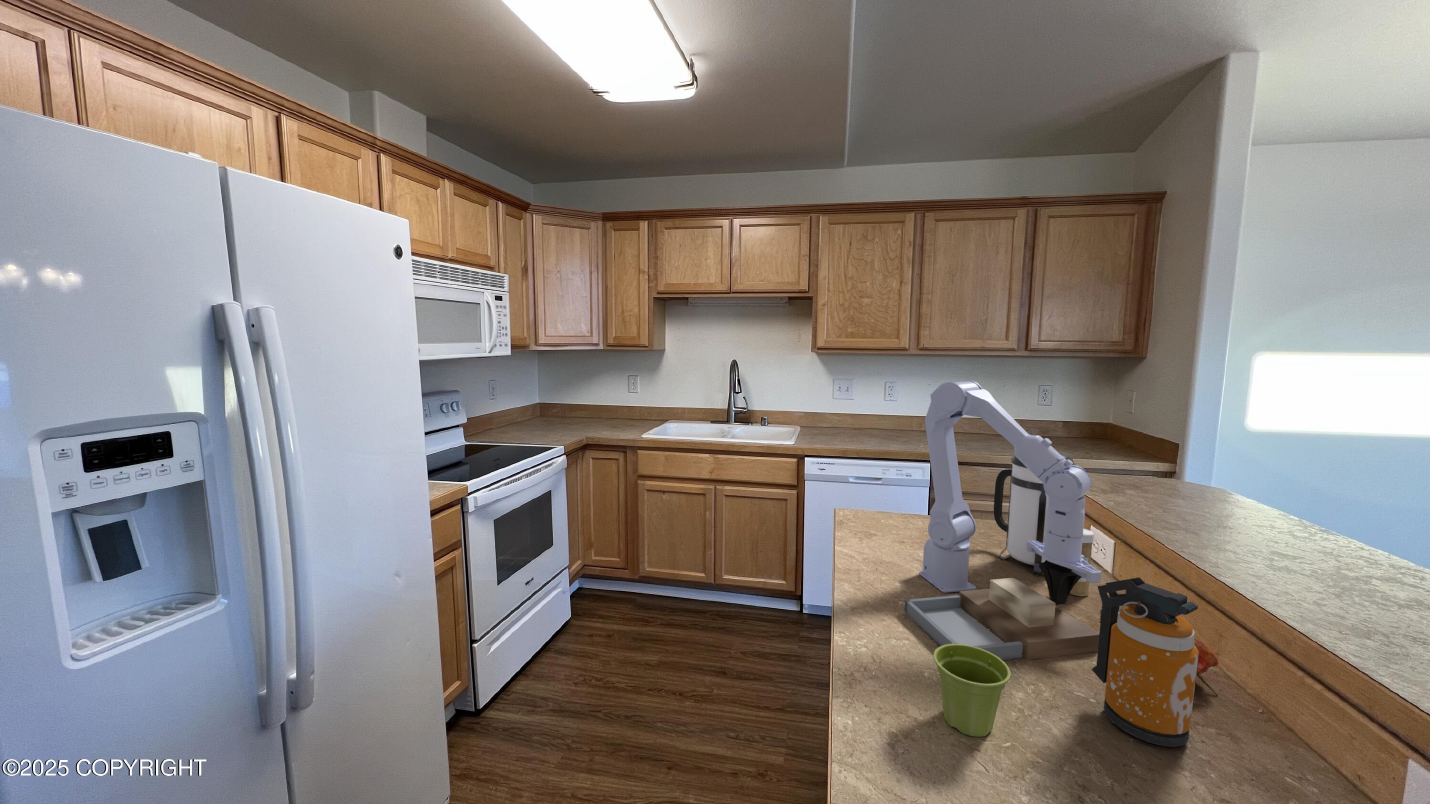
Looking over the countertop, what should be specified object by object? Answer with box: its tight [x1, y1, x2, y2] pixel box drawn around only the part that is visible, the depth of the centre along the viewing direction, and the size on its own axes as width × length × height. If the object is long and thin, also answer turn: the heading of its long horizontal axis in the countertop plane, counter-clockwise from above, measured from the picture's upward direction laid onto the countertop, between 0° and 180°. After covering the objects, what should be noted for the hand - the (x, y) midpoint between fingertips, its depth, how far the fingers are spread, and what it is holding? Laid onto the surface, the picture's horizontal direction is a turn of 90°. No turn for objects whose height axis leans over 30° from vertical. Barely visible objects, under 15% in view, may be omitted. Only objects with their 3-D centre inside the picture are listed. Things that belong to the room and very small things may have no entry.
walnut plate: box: [958, 588, 1099, 660], centre depth 96 cm, size 18×14×3 cm
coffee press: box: [993, 450, 1077, 577], centre depth 123 cm, size 17×16×30 cm
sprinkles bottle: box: [1069, 528, 1095, 597], centre depth 109 cm, size 5×5×14 cm
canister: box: [1091, 576, 1199, 747], centre depth 71 cm, size 9×11×20 cm
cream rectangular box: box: [989, 577, 1056, 627], centre depth 95 cm, size 10×5×4 cm, turn 10°
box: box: [904, 594, 1023, 661], centre depth 94 cm, size 17×11×2 cm
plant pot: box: [933, 644, 1011, 738], centre depth 72 cm, size 9×9×9 cm
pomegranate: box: [1194, 637, 1220, 697], centre depth 80 cm, size 7×7×10 cm
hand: (1058, 602), depth 97 cm, fingers closed
